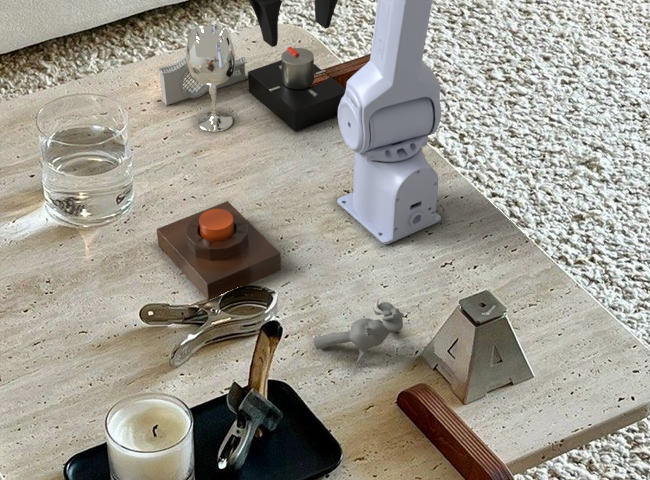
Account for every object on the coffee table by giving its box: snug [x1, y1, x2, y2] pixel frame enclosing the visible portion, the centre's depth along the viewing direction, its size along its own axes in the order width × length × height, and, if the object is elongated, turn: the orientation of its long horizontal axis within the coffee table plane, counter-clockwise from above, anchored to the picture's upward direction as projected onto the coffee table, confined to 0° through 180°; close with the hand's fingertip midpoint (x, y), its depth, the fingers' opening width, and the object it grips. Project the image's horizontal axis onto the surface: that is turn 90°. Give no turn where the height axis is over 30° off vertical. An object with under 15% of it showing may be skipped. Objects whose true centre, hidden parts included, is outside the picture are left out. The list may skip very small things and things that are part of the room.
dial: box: [280, 46, 315, 89], centre depth 147 cm, size 4×4×4 cm
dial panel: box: [247, 59, 346, 133], centre depth 149 cm, size 11×8×3 cm
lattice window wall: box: [156, 51, 248, 106], centre depth 150 cm, size 12×2×6 cm, turn 122°
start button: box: [199, 209, 234, 242], centre depth 126 cm, size 4×4×2 cm
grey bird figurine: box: [312, 298, 405, 366], centre depth 116 cm, size 10×6×9 cm
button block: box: [156, 200, 282, 301], centre depth 127 cm, size 11×9×4 cm
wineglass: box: [186, 24, 236, 133], centre depth 143 cm, size 6×6×12 cm
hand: (296, 33), depth 144 cm, fingers open, 7 cm apart
